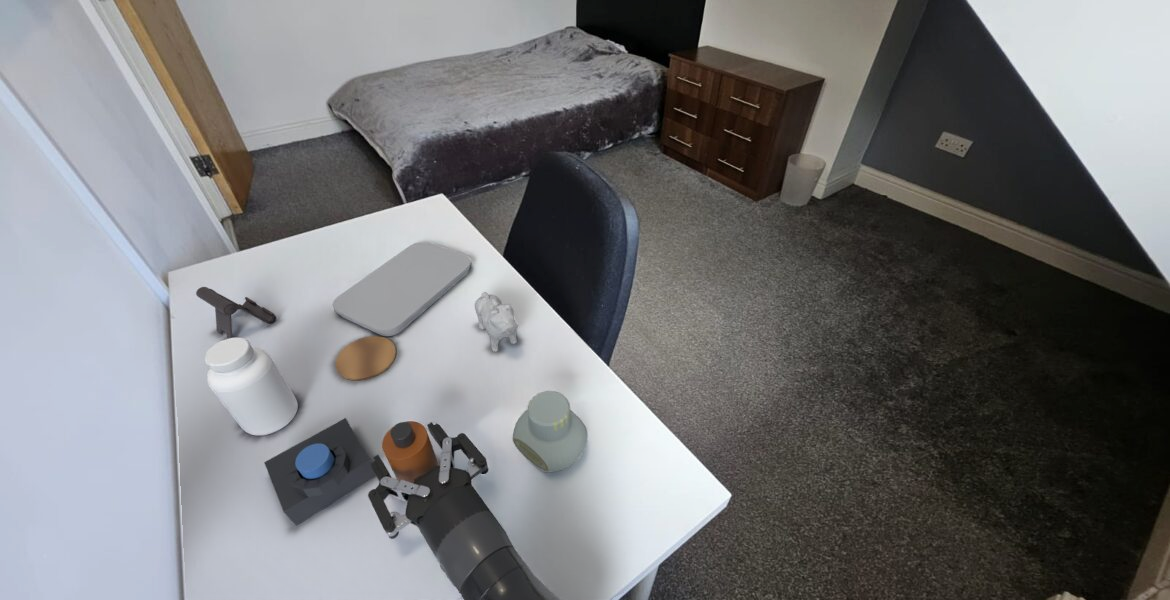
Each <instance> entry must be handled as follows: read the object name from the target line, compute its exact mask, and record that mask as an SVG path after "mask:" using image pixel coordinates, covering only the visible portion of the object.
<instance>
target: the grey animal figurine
mask: <svg viewBox="0 0 1170 600" xmlns="http://www.w3.org/2000/svg"><path fill="white" fill-rule="evenodd" d="M474 310H475V313H476V316H477V321H478V328H479V329H480V330H485V329H486V332H487V335H488V336H489V338H490V347H491V351H492V352H494V353H496V352H498V351H499V350H500V348H499V342H500V340H501V339H503V338H508V339H509V342H510V344H513V345H516V344H517V343H518V339H517V334H516V330H517V329H518V327H519V324H518V323H517V321H516V318H515V313H514V310H513V308H512V305H511V304H510V303H503V302H502V300H501V298H499V297H498V296H497V295H496V294H489V293H488V292H486V291H483V292H481V296H479V298H477V299H476V300H475V301H474Z"/></svg>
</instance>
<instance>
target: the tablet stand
mask: <svg viewBox="0 0 1170 600" xmlns="http://www.w3.org/2000/svg"><path fill="white" fill-rule="evenodd" d="M195 295H196V296H197V297H198V298H199V299H200V300H202V301H204V302H206V303H207V304H209V305H210V306H212V307H213V308H214V311H215V325H216V332H217V334H219V335H223V331H224V332H225V334H226V339H229V338H233V321H232V320H233V319H232V315H234V314H235V313H236V312H237V311H239V310H241V311H243V312H245V313H247V314H248V315H250V316H252V317H254V318H256V319H257V320H260V321H261V322H263V323H265V324H267V325H273V324H275V323H276V321H277V319H278V318H277V317H278V316H276V314H274V312H272V311H271V310H270V309H268V308H266V307H263V306H260V305H259V304H258V303H257V302H256V301H254V300H252V299H250V298H249V297H247V296H246V297H244V300H245V302H244V303H243V304H240V303H237V302H235V301H233V300H231V299H229V298H228V297H226V296H225V295H222V294H220V293H218V292H217V291H215V289H212V288H209V287H207V286H201V287H199V288H198V289H197V290H196V292H195Z"/></svg>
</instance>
